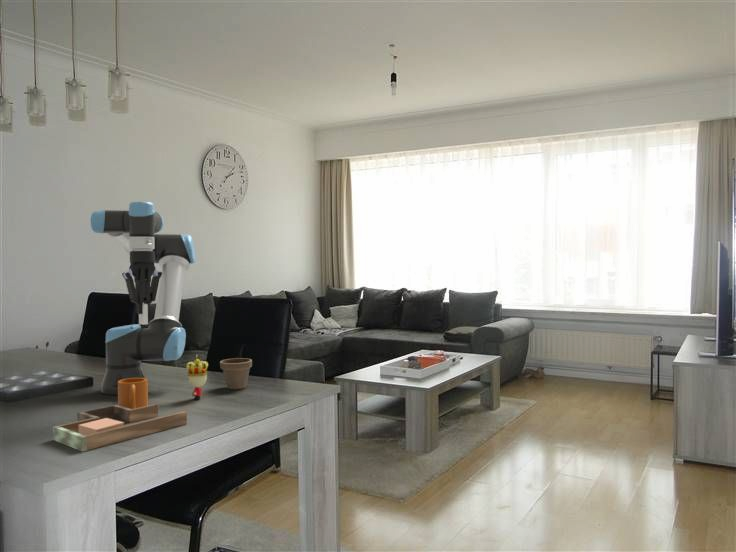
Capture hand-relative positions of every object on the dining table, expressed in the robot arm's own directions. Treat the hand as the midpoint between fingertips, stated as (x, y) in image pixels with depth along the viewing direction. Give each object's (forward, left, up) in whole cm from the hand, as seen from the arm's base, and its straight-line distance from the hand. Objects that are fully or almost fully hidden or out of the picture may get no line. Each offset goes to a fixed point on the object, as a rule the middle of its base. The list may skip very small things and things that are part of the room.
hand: (143, 324), depth 190 cm
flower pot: (+3, +35, -27) cm, 44 cm away
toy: (+6, +16, -27) cm, 32 cm away
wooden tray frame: (+16, -20, -26) cm, 37 cm away
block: (+21, -26, -27) cm, 43 cm away
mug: (+1, -5, -27) cm, 27 cm away
